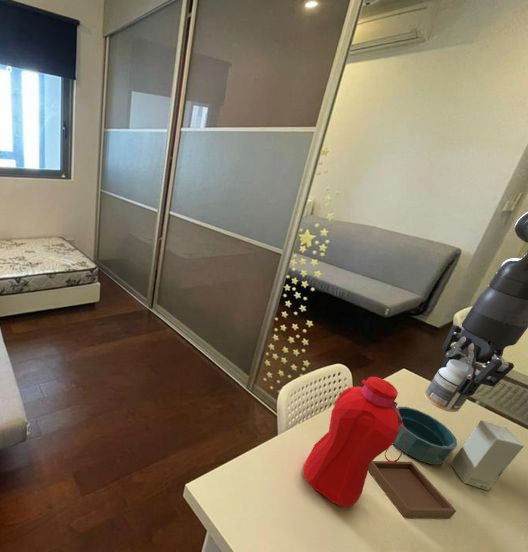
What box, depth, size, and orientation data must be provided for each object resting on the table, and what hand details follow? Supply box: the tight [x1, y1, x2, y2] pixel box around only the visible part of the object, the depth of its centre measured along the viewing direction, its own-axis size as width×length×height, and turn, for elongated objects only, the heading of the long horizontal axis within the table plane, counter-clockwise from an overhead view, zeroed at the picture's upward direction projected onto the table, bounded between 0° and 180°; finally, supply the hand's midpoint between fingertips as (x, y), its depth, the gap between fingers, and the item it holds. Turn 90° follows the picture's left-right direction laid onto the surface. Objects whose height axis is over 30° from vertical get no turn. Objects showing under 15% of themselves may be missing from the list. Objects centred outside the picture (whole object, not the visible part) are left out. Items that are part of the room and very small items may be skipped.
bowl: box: [393, 406, 458, 465], centre depth 73 cm, size 11×11×6 cm
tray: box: [368, 460, 457, 519], centre depth 62 cm, size 10×10×2 cm
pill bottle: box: [424, 359, 480, 413], centre depth 67 cm, size 6×6×10 cm
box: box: [450, 419, 525, 491], centre depth 65 cm, size 5×4×13 cm
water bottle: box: [303, 376, 406, 508], centre depth 57 cm, size 9×11×25 cm
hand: (453, 383), depth 66 cm, fingers closed on pill bottle, 5 cm apart
